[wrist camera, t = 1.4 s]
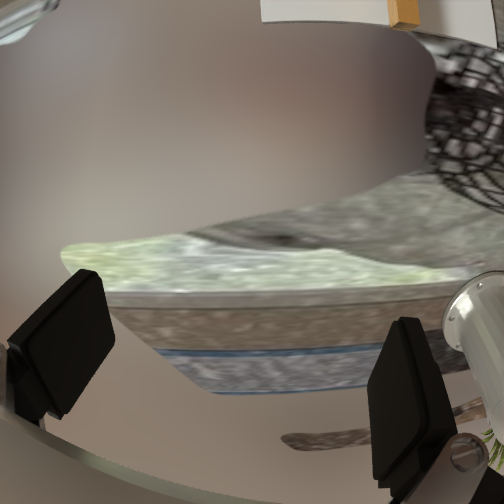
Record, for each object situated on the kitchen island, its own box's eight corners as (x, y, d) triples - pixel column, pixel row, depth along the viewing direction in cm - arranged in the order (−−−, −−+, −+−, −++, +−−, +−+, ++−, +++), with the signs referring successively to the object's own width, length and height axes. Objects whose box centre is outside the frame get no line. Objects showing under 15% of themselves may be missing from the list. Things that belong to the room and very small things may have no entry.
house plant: (455, 423, 45) (471, 495, 31) (452, 385, 41) (474, 470, 27) (518, 394, 40) (543, 460, 26) (524, 350, 36) (561, 425, 22)
